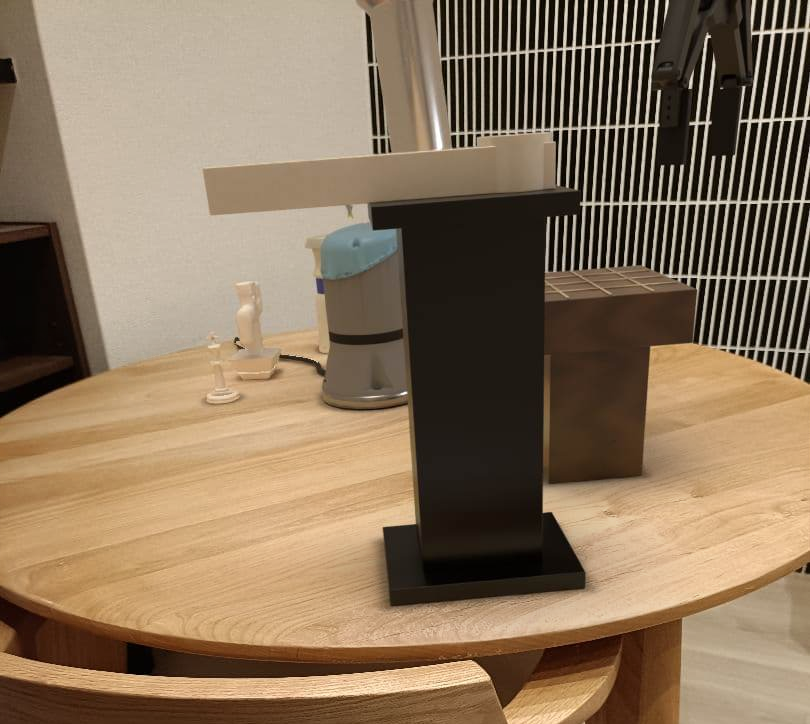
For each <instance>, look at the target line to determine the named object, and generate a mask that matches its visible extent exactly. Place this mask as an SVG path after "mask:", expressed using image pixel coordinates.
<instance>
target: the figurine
mask: <svg viewBox="0 0 810 724" xmlns="http://www.w3.org/2000/svg"><path fill="white" fill-rule="evenodd" d="M235 288H236V292H237V296H238V300H239V301H238V302H239V306H240V307H239V309H238V310H237V312H236V317H235V318H236V325H237V326H236V327H237V332H238V333H237V334H238V338H239V339H240V343H241V344H242V345H245V347H246V348H247V349H239V350H237V352H235V353H234V354H233V355H232V356H231V357H230V358H229V359H228V362H229V363H230V364H231V366H232V367H233V368H234V370H235V372H237V373H238V372H261V371H264V372H265V371H271V370H272V369H273V368H274V366H275V365H276V364H277V365H276V366H275V368H274V369H273V370H272V371H271V372H270V373H259V374H238V375H239V377H240V378H241V379H242V380H245V381H247V380H267V379H270V378H271V377H272V376H273V375H274V374H275V372H276V369H277V366H278V363H279V359H280V358H279V356H280V354H282V349H283V346H276V347H264V342H263V335H262V328H261V322H260V320H261V319H260V316H261V315H262V313H263V309H264V308H263V298H262V292H261V286H260V283H259V281H255V280H251V281H242V282H237V283H235Z"/></svg>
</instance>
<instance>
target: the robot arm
mask: <svg viewBox="0 0 810 724" xmlns="http://www.w3.org/2000/svg"><path fill="white" fill-rule="evenodd" d="M434 1H435V0H355V3H356V5H357V7H358V8H360V9H361V10H362V11H363V12H365V13H366V14H367V15H368V16H369V18H370V19H369V20H370V25H371V31H372V37H373V39H372V40H373V43H374V45H373V46H374V51H375V56H376V57H375V58H376V63H377V69H378V75H379V80H380V88H381V89H380V90H381V94H382V100H383V106H384V113H385V119H386V124H387V131H388V138H389V139H388V140H389V144H390V150H391V152H405V151H418V150H431V149H445V148H453V143H452V137H451V130H450V122H449V115H448V108H447V100H446V92H445V85H444V79H443V72H442V71H443V70H442V64H441V56H440V50H439V43H438V42H439V41H438V33H437V27H436V21H435V20H436V19H435V13H434V5H433V3H434ZM751 13H752V12H751V0H669V2H668V6H667V11H666V13H665V14H666V15H665V19H664V22H663V25H662V31H661V34H660V38H659V42H658V46H657V50H656V54H655V59H654V62H653V65H652V70H651V74H650V75H651V76H650V78H651V83H650V86H651V90H652V91H661V94H660V95H661V96H660V112H659V123H658V139H657V152H656V166H657V167H658V166H684V165H687V156H688V146H689V145H688V144H689V134H690V122H691V111H692V101H693V100H692V99H693V98H692V97H693V88H688V86H689V83H690V81H691V77H692V75H693V73H694V70H695V67H696V64H697V62H698V59H699V57H700V55H701V51H702V49H703V46H704V43H705V41H706V38H707V35H708V34H709V36H710V41H711V45H712V46H711V47H712V53H713V59H714V65H715V69H716V75H717V82H718V87H719V88H714V91H713V92H714V93H713V102H712V111H711V112H712V113H711V122H710V132H709V143H708V153H707V157H727V156H733V157H734V156H736V151H737V143H738V133H739V124H740V117H741V107H742V106H741V105H742V97H743V89H744V87H751V86H752V85H753V83H754V75H753V73H754V72H753V71H754V70H753V47H752V18H751V17H752V16H751V15H752V14H751ZM328 234H329V235H327V236H326V237H325V239H324V240H323V242H322V244H321V269H320V272H321V275H322V277H323V286H324V295H325V305H326V314H327V323H328V331H329V341H330V348H329V353H327V358H326V365H325V369H324V368H323V367H322V363H320V362H319V361H318V363H317V362H316V361H314V360H311V359H308V358H309V357H308V358H303V357H304V356H302V357H296V356H297V355H295V356H289V355H290V354H288V355H281V354H282V353H280V356H279V359H281V360H288V361H295V362H302V363H307V364H311V365H313V366H315V368H316V371H317V372H318V374H320V375H322V376H324V377H323V379H322V382H321V383H322V384H321V392H322V399H323V401H324V402H325V403H326V404H329V405H330V406H334V407H337V408H342V409H352V410H353V409H354V410H371V409H373V410H374V409H383V408H384V409H385V408H391V407H395V406H400V405H404V404H408V399H407V384H406V369H405V354H404V339H403V324H402V310H401V295H400V280H399V265H398V250H397V235H396V229H388V230H375V231H373V229H372V226H371V223H370V221H368V222H359V223H355V224H351V225H348V226H344V227H342V228H338V229H336V230H333V231H332V232H330V233H328ZM236 341H240V339H239V336H235V337H234V340H233V344H234V343H236ZM235 345H236V348H237V349H239V350H240V349H245V348H243V347H241V346H239V345H237V344H235Z"/></svg>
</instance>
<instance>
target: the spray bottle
mask: <svg viewBox="0 0 810 724" xmlns="http://www.w3.org/2000/svg"><path fill="white" fill-rule="evenodd" d="M344 206H345V209H346V210H347V219H350V218H351V219H354V214H353V207H354V206H353V205H344ZM329 234H330V233H322V234H315V235H310V236H307V237H306V240H305V243H304V248H305V249H309V250H312V254H313V257H314V262H315V263H314V269H313V271H312V275H313V277H315V284H316V285H315V287H316V295H315V310H316V320H317V321H316V322H317V332H318V350H319V352H320V353H323V354H328V353H329V348H330V341H329V331H328V323H327V314H326V305H325V295H324V286H323V277H322V275H321V272H320V269H321V244H322V242H323V240H324V239H325V237H326V236H327V235H329ZM319 345H320V346H319ZM324 347H326V348H324Z"/></svg>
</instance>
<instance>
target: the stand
mask: <svg viewBox="0 0 810 724" xmlns="http://www.w3.org/2000/svg"><path fill="white" fill-rule="evenodd" d="M581 193H582V191H581V190H580V189H575V188H571V187H567V186H561V185H557V184H555V189H549V190H539V191H530V192H518V193H499V194H484V195H471V196H458V197H445V198H432V199H419V200H406V201H393V202H380V203H367V216H368V220H369V222H370V223H371V226H372V229H373V231H375V230H388V229H396V235H397V250H398V265H399V280H400V295H401V310H402V324H403V339H404V354H405V369H406V384H407V399H408V403H407V411H408V412H407V413H408V425H409V426H408V429H409V442H410V456H411V457H410V458H411V470H412V472H411V474H412V487H413V501H414V502H413V503H414V517H415V523H413V524H411V523H410V524H401V525H390V526H389V525H388V526H382V535H383V536H382V539H383V547H384V557H385V567H386V577H387V587H388V596H389V597H388V598H389V605H390V606H392V607H393V606H402V605H414V604H424V603H425V604H427V603H437V602H446V601H456V600H457V601H458V600H468V599H469V600H470V599H479V598H490V597H500V596H502V597H503V596H511V595H522V594H533V593H543V592H544V593H545V592H554V591H564V590H565V591H566V590H575V589H585V588H586V575H587V574H586V570H585V568H584V567H583V565H582V564H581V561H580V560H579V557H578V556H577V554H576V552H575V551H574V549H573V547H572V545H571V543H570V541H569V540H568V538H567V537H566V534H565V533H564V531H563V529H562V527H561V526H560V524H559V522H558V520H557V518H556V517H555V515H554V513H553V512H552V511H547V512H546V511H545V512H544V474H543V442H544V336H545V273H546V227H547V226H546V223H547V221H546V220H547V218H554V217H567V216H579V215H581V197H582V196H581V195H582V194H581Z"/></svg>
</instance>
